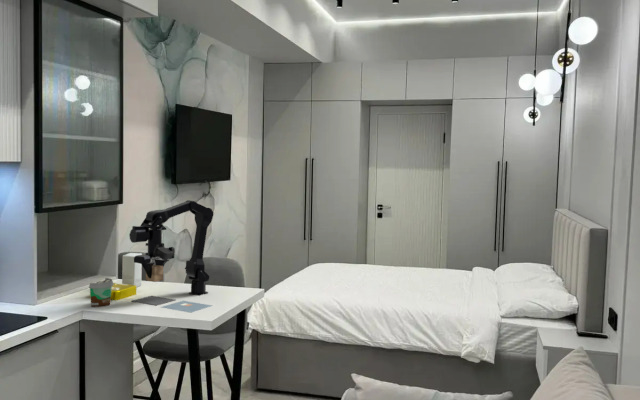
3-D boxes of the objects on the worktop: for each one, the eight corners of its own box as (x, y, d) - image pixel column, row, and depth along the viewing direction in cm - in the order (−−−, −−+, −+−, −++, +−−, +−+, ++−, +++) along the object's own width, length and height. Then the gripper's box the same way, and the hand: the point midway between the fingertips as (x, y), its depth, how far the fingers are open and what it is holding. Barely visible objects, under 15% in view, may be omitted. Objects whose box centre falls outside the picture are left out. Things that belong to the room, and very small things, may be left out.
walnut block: (154, 278, 254) (154, 264, 253) (163, 279, 252) (163, 266, 251) (145, 280, 249) (145, 266, 249) (154, 281, 247) (154, 267, 247)
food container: (102, 308, 236) (102, 284, 235) (88, 307, 237) (89, 283, 236) (119, 302, 248) (119, 278, 247) (105, 301, 249) (106, 277, 248)
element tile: (138, 294, 264) (138, 284, 264) (117, 301, 250) (117, 290, 250) (110, 291, 269) (110, 281, 269) (87, 298, 255) (87, 287, 254)
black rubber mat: (151, 296, 260) (151, 295, 259) (176, 300, 253) (176, 299, 253) (131, 301, 249) (131, 300, 249) (156, 306, 242) (156, 305, 242)
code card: (183, 301, 253) (183, 300, 252) (212, 306, 245) (212, 305, 245) (160, 307, 240) (160, 307, 240) (190, 313, 233) (190, 312, 233)
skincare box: (129, 284, 283) (129, 252, 282) (142, 285, 282) (142, 253, 281) (121, 288, 275) (121, 255, 274) (134, 288, 274) (135, 255, 273)
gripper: (153, 244, 237) (152, 283, 238) (184, 240, 254) (183, 275, 255) (132, 242, 243) (132, 279, 244) (164, 238, 259) (164, 273, 260)
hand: (154, 277), depth 250 cm, fingers closed on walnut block, 5 cm apart
